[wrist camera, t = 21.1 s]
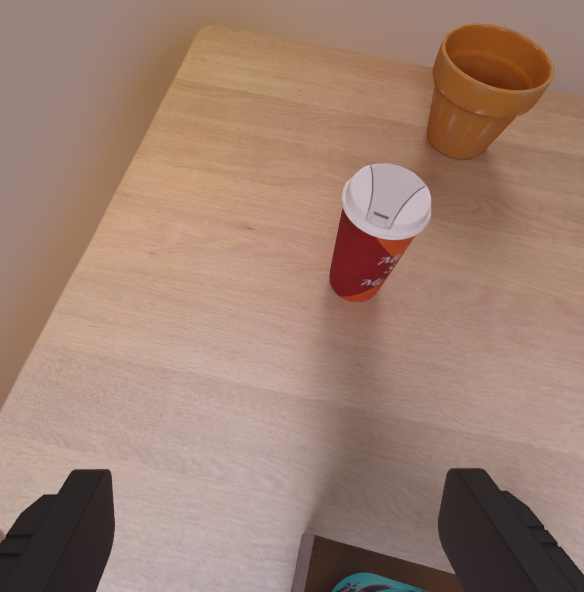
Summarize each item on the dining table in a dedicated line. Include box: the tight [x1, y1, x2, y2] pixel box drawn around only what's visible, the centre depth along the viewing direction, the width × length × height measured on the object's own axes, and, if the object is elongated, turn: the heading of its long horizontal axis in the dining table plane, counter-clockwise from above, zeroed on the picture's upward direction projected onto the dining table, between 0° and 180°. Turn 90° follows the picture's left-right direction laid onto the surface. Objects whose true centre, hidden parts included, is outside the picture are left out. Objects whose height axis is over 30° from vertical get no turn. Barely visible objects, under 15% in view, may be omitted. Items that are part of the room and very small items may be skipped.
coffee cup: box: [330, 163, 431, 302], centre depth 44 cm, size 8×8×15 cm
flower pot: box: [427, 24, 554, 159], centre depth 59 cm, size 14×14×13 cm
